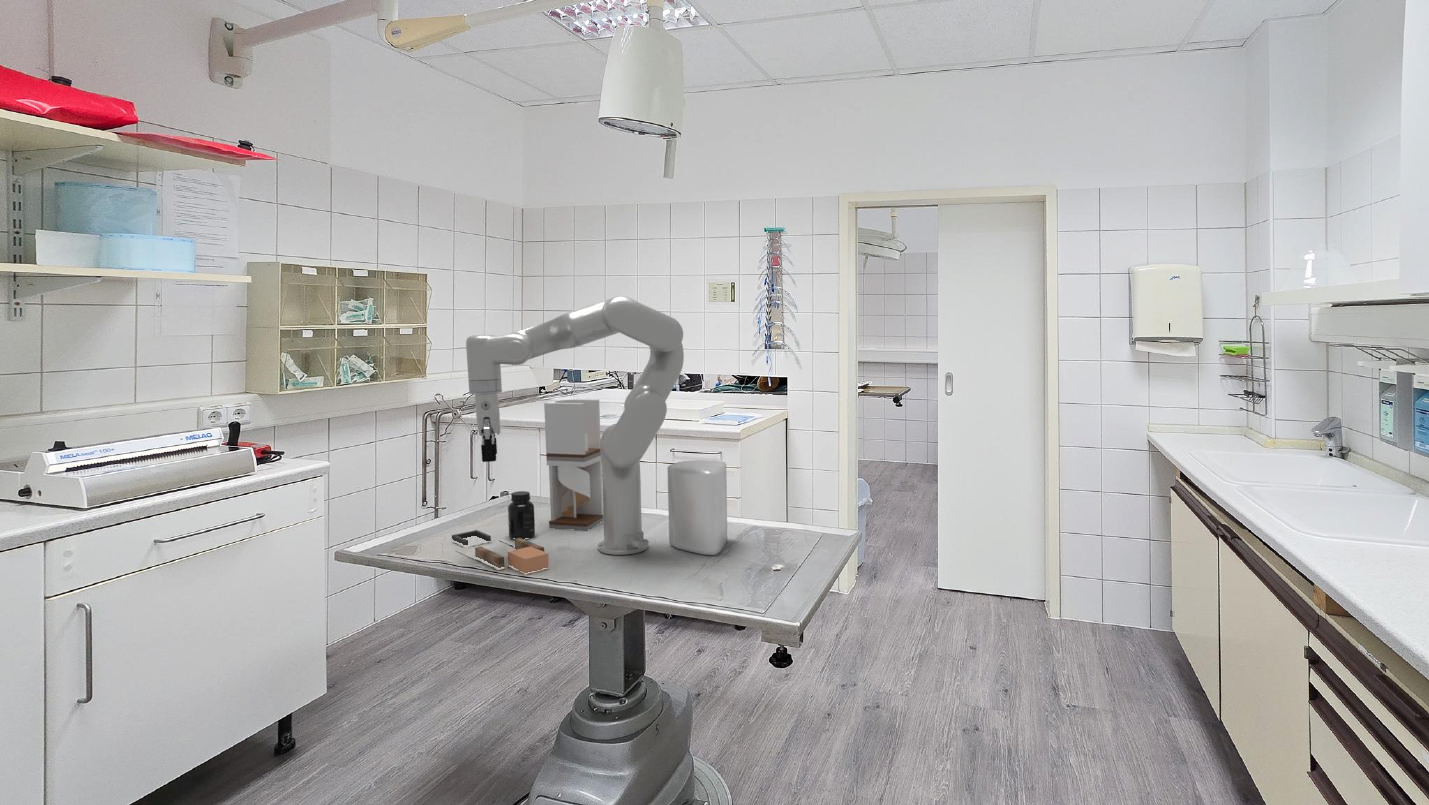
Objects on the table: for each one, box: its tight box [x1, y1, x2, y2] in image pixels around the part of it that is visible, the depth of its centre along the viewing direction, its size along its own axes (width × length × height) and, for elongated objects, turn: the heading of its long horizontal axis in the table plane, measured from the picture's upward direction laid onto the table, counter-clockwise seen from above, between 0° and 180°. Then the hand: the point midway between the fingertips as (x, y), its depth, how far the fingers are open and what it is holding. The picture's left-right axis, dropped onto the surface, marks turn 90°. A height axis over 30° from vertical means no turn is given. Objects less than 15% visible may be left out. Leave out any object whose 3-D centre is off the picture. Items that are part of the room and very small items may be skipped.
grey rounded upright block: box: [667, 459, 728, 556], centre depth 198 cm, size 15×14×22 cm
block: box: [507, 546, 550, 573], centre depth 184 cm, size 8×6×4 cm
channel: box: [474, 538, 545, 568], centre depth 191 cm, size 12×12×3 cm
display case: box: [543, 398, 604, 532], centre depth 220 cm, size 11×11×35 cm
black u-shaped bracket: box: [451, 529, 492, 545], centre depth 207 cm, size 8×7×2 cm
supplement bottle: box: [507, 490, 536, 539], centre depth 210 cm, size 7×7×12 cm
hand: (489, 457), depth 190 cm, fingers open, 9 cm apart
